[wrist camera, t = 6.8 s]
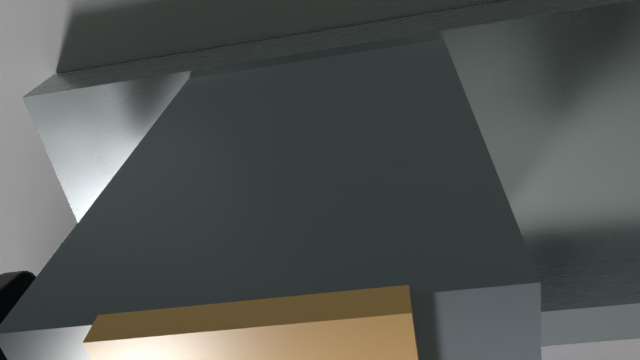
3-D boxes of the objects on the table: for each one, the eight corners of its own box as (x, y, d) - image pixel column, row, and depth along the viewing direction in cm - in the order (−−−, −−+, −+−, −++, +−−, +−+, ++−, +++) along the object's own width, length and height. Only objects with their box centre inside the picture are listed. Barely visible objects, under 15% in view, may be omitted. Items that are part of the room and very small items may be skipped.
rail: (876, -61, 9) (1123, -15, 6) (805, 235, 12) (954, 368, 9) (54, 74, 11) (-60, 157, 8) (146, 301, 14) (85, 427, 11)
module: (443, 35, 9) (551, 299, 4) (462, 266, 11) (549, 647, 6) (187, 75, 10) (-28, 352, 5) (250, 287, 12) (154, 651, 7)
